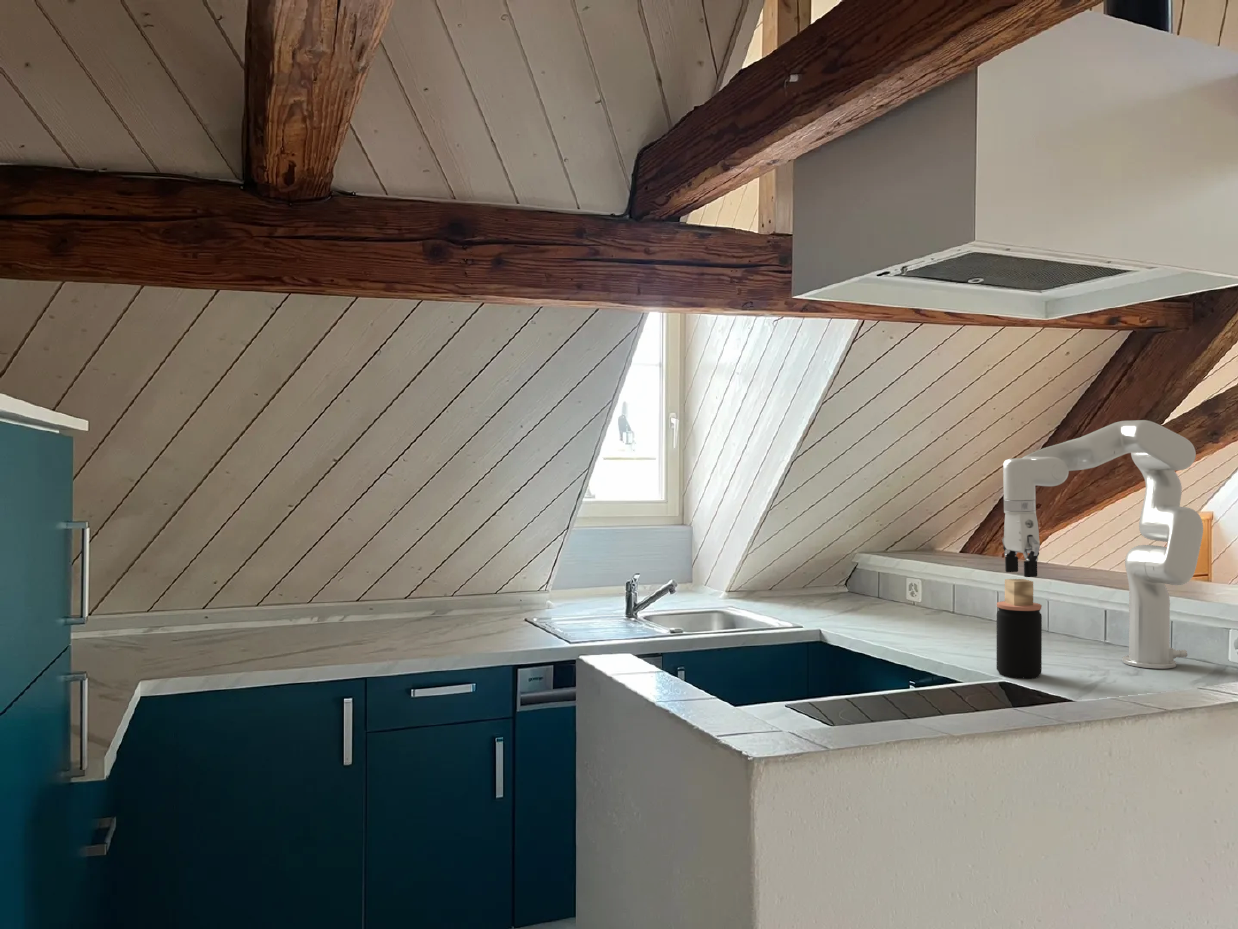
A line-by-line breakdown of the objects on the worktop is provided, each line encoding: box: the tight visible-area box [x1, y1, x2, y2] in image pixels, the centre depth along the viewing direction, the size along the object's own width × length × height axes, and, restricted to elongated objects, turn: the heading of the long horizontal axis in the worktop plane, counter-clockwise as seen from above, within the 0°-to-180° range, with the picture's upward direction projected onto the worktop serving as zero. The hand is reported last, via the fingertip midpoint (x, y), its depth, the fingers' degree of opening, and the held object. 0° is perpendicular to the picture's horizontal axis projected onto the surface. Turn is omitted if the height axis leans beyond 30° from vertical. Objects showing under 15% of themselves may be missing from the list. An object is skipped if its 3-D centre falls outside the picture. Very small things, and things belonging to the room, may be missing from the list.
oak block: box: [1004, 578, 1034, 606], centre depth 253 cm, size 5×5×6 cm
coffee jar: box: [996, 600, 1043, 680], centre depth 253 cm, size 11×11×18 cm
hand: (1021, 574), depth 253 cm, fingers open, 9 cm apart
